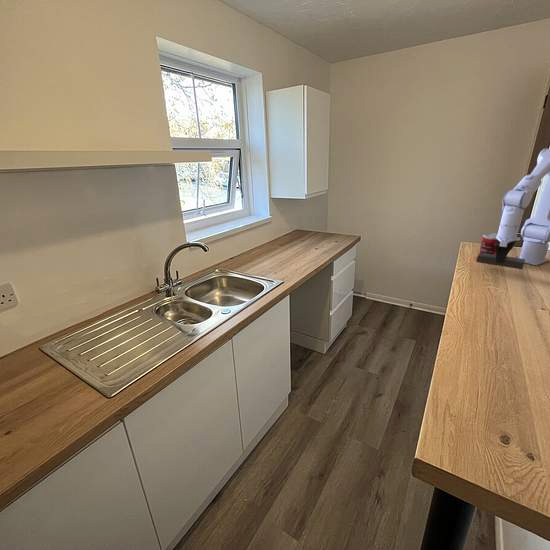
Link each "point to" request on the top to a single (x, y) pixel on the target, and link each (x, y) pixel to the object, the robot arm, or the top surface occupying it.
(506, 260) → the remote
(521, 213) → the robot arm
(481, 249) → the canned food
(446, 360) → the top surface
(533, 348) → the top surface
